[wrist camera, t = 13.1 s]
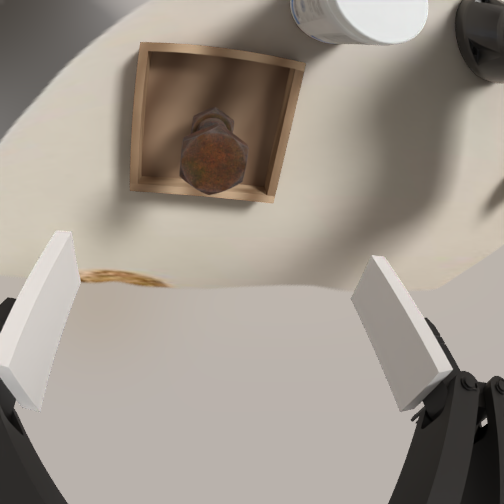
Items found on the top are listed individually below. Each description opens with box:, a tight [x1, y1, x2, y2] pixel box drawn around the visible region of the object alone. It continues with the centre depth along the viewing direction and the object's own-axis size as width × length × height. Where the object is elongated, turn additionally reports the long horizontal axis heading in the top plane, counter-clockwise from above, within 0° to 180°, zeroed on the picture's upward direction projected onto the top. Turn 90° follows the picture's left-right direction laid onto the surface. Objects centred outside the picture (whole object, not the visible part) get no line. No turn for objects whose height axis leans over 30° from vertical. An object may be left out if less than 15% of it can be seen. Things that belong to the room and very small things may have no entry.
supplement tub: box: [290, 0, 428, 45], centre depth 23 cm, size 10×10×15 cm
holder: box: [130, 42, 306, 203], centre depth 35 cm, size 18×18×4 cm
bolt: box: [179, 107, 249, 195], centre depth 30 cm, size 6×5×15 cm
